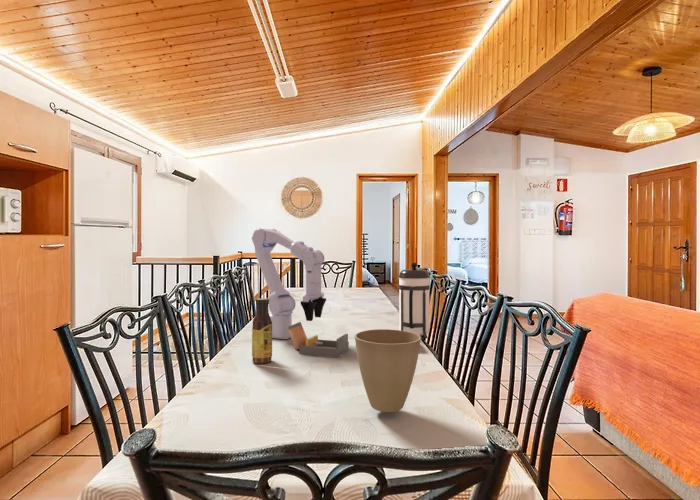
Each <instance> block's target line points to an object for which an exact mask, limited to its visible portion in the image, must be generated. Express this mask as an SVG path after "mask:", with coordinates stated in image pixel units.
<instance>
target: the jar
mask: <svg viewBox="0 0 700 500" xmlns="http://www.w3.org/2000/svg"><path fill="white" fill-rule="evenodd" d="M287 328H288V330H289V333H290V335H291V337H290V339H291V340H292V343H293V346H294V348H295V351H297V350H299V346H300V345H304V346H306V340H307V339H308V338H307V335H306V333H305V329H304V327H303V324H302V322H301V321H299V322H296V323H294V324H292V325H291V326H289V327H287Z"/></svg>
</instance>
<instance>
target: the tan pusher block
mask: <svg viewBox="0 0 700 500" xmlns="http://www.w3.org/2000/svg"><path fill="white" fill-rule="evenodd" d="M318 339H319V335H318V334H315V335H313V336H311V337H309V338H307V340H306V346H315V347H316V346H317V345H323V342H318Z"/></svg>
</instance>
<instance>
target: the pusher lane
mask: <svg viewBox="0 0 700 500" xmlns="http://www.w3.org/2000/svg"><path fill="white" fill-rule="evenodd" d="M318 342H323V345H317V346H316V347H315V346H304V345H300V346H299V349H298V350H299V355H306V356H316V357H317V356H318V357H324V358H326V357H327V358H336V359H337V358H340V357H341V356H342V355H344V354H345V353H346V352H348V351H349V350H350V349H349V348H350V346H349V345H350V343H349V334H348V333H344V334H342V335H341V336H339V337H338V338H336V340H330V339H329V340H328V339H319V338H318Z"/></svg>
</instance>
